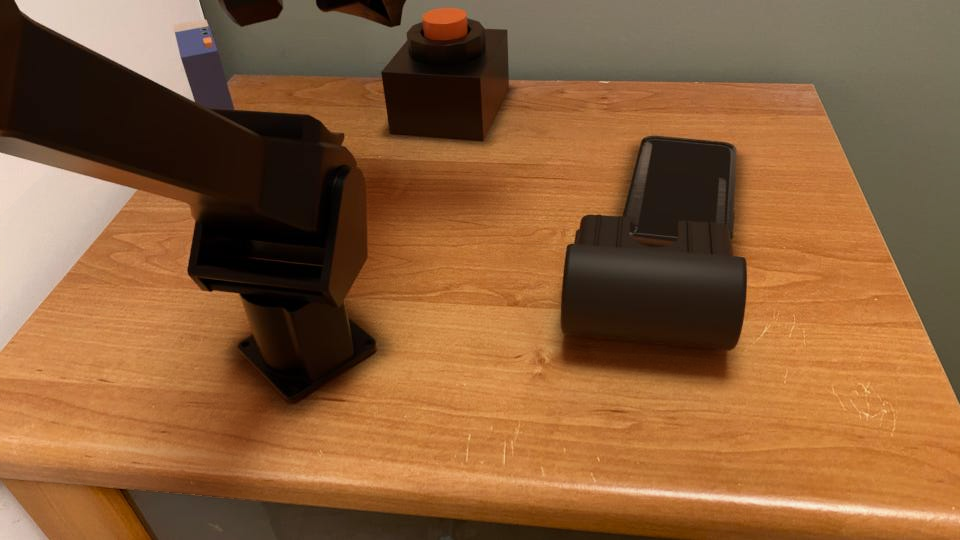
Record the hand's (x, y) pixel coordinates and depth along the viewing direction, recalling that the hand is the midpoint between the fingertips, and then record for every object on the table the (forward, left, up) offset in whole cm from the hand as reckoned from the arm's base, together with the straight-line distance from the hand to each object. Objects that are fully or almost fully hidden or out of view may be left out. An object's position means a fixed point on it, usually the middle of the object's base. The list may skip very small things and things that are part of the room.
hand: (395, 21), depth 55 cm
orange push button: (+6, -9, -5) cm, 12 cm away
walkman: (+13, +11, -13) cm, 21 cm away
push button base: (+6, -9, -13) cm, 17 cm away
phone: (-19, -11, -13) cm, 26 cm away
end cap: (-26, +3, -13) cm, 30 cm away
